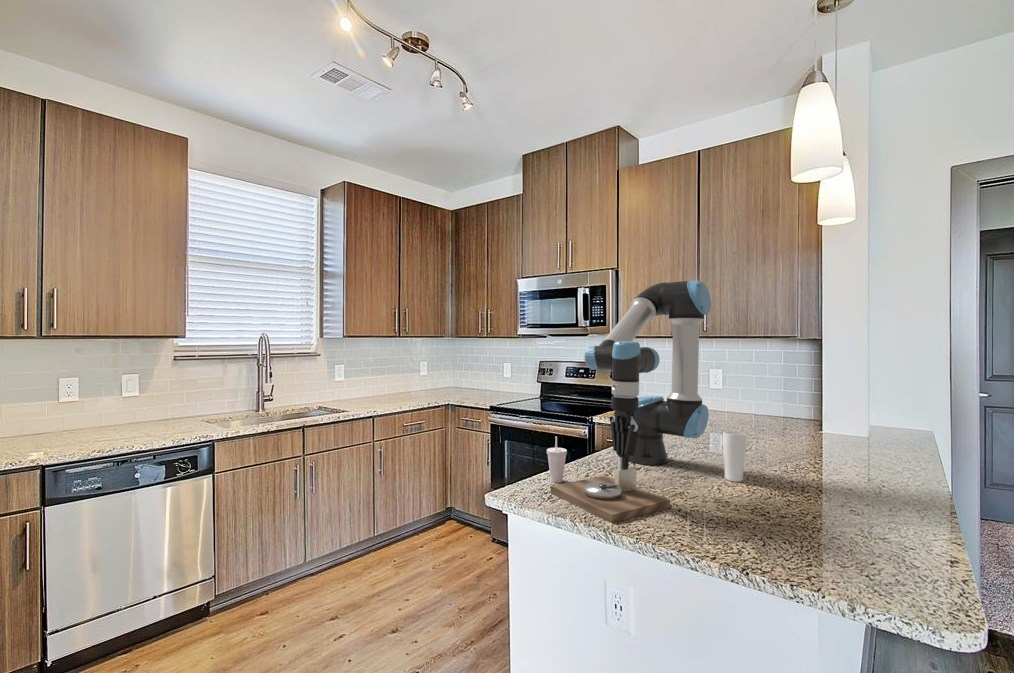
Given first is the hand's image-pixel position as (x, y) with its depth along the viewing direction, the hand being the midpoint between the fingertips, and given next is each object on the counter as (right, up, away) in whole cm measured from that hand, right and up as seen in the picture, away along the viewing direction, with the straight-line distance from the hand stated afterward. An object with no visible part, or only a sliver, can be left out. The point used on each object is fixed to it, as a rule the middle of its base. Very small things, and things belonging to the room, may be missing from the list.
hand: (622, 478), depth 136 cm
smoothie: (-17, -5, +14) cm, 23 cm away
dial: (-4, -3, -3) cm, 6 cm away
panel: (-5, -5, -3) cm, 8 cm away
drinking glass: (+39, -6, +17) cm, 43 cm away
